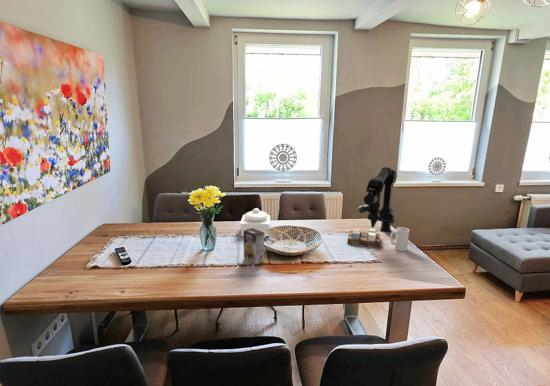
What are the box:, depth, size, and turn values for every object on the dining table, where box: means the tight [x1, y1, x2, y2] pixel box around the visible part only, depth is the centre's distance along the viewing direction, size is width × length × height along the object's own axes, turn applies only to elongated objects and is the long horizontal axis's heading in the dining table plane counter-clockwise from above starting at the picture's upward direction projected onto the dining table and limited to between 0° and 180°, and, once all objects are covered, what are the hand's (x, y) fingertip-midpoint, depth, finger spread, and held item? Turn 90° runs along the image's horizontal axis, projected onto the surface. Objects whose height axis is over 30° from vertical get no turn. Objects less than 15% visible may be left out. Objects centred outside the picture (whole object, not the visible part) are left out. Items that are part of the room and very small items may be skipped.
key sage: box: [368, 228, 377, 235], centre depth 198 cm, size 4×4×4 cm
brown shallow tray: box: [346, 230, 381, 248], centre depth 197 cm, size 14×18×3 cm
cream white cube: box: [368, 232, 377, 242], centre depth 192 cm, size 4×4×4 cm
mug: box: [389, 226, 410, 252], centre depth 185 cm, size 10×7×12 cm, turn 89°
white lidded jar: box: [239, 207, 271, 237], centre depth 210 cm, size 18×18×16 cm
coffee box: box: [243, 228, 265, 265], centre depth 171 cm, size 9×6×16 cm
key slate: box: [352, 230, 361, 240], centre depth 194 cm, size 4×4×4 cm
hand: (372, 227), depth 190 cm, fingers closed
